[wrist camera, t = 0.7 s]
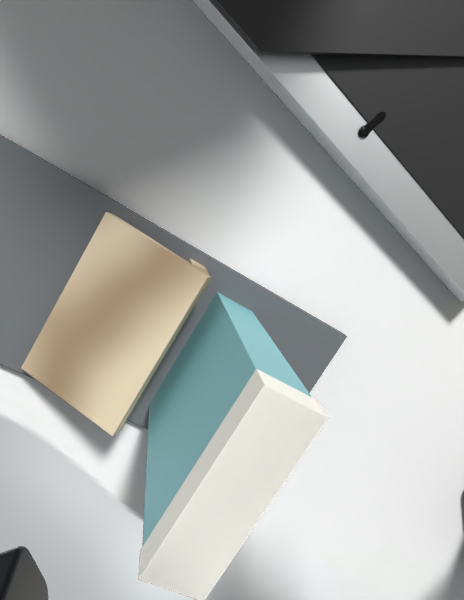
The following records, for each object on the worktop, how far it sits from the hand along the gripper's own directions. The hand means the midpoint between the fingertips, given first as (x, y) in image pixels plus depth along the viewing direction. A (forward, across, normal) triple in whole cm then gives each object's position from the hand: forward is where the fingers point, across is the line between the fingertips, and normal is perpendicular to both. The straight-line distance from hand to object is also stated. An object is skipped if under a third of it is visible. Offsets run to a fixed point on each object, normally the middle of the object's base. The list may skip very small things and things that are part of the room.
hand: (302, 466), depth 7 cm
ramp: (+14, +4, +2) cm, 15 cm away
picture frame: (+15, -14, -7) cm, 22 cm away
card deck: (+14, 0, +5) cm, 14 cm away
